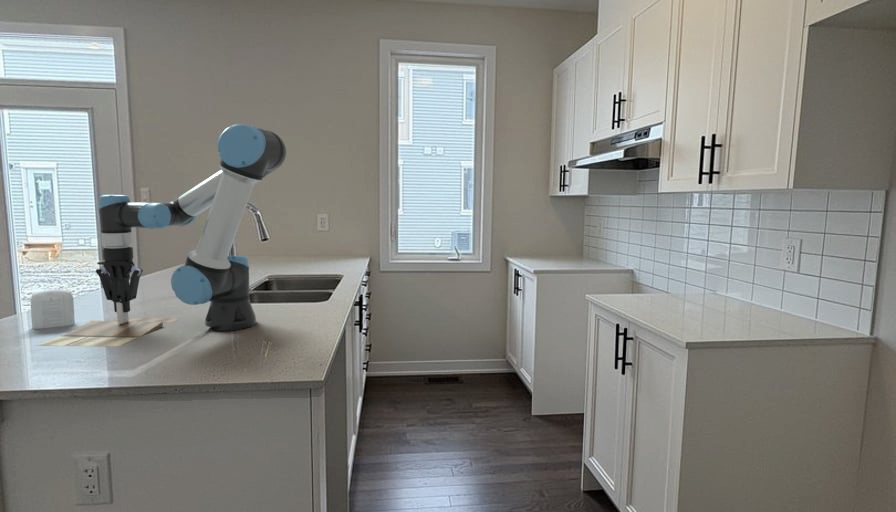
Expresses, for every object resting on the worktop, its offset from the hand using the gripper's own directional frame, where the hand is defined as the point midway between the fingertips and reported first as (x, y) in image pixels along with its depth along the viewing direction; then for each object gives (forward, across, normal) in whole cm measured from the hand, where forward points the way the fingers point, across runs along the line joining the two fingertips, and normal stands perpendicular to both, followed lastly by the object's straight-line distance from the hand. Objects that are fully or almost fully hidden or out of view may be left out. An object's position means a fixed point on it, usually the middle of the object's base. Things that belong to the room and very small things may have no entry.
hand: (123, 322), depth 147 cm
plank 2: (+3, -1, -8) cm, 9 cm away
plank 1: (+2, 0, +4) cm, 5 cm away
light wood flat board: (+2, 0, +15) cm, 15 cm away
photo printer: (+3, +22, 0) cm, 22 cm away
